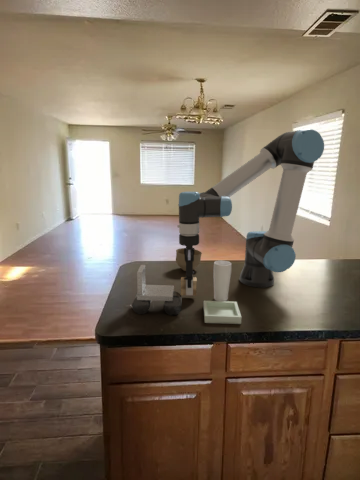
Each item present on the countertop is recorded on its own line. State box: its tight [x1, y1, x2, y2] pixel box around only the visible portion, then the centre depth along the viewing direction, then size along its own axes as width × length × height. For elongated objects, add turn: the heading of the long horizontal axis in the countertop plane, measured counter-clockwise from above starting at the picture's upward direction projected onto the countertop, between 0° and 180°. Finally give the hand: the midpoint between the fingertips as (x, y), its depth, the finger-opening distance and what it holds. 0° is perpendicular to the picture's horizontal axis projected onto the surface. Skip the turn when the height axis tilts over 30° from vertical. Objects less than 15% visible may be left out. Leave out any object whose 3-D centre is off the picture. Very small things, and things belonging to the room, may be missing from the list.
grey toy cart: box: [131, 264, 183, 316], centre depth 111 cm, size 17×10×16 cm, turn 88°
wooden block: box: [180, 276, 198, 297], centre depth 122 cm, size 6×4×6 cm, turn 88°
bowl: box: [175, 247, 203, 272], centre depth 155 cm, size 13×13×10 cm
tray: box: [202, 300, 243, 325], centre depth 110 cm, size 12×12×2 cm
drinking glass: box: [212, 259, 232, 301], centre depth 121 cm, size 7×7×15 cm
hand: (189, 292), depth 123 cm, fingers closed on wooden block, 4 cm apart
